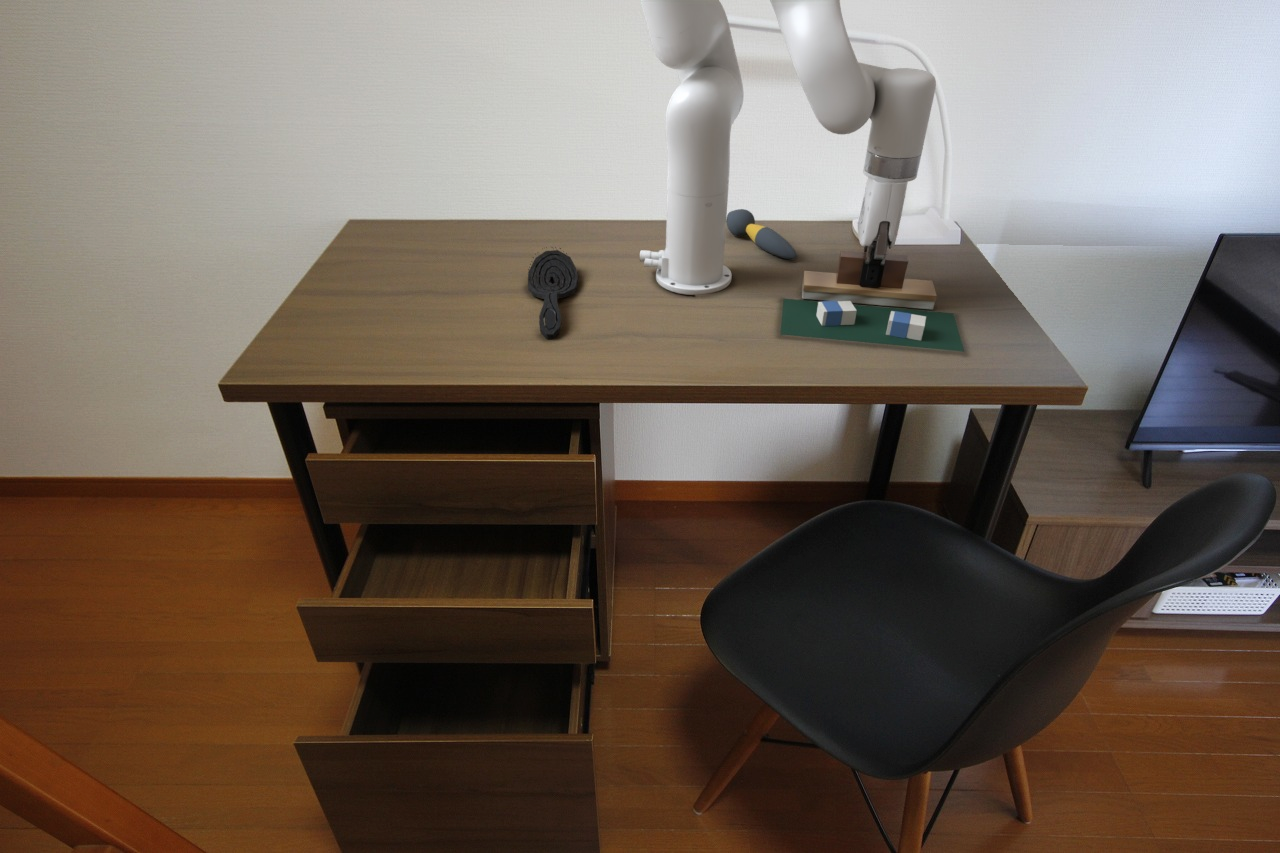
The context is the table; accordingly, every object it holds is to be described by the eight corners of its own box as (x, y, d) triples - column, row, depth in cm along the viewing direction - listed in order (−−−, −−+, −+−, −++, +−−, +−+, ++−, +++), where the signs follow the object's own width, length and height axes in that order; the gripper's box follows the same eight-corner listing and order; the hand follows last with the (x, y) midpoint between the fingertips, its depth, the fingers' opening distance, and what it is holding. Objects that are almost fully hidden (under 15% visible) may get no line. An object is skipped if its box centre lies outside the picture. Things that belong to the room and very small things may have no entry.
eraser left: (821, 326, 117) (824, 311, 115) (815, 316, 119) (818, 301, 118) (854, 325, 117) (857, 310, 115) (847, 315, 119) (850, 300, 118)
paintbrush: (810, 258, 137) (813, 231, 134) (790, 266, 135) (793, 238, 132) (732, 225, 150) (734, 199, 147) (713, 231, 148) (714, 205, 145)
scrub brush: (801, 299, 123) (807, 257, 119) (802, 284, 127) (807, 244, 123) (933, 310, 120) (943, 268, 116) (929, 295, 125) (939, 253, 121)
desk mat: (779, 337, 115) (779, 334, 114) (782, 300, 124) (783, 298, 124) (964, 354, 111) (964, 351, 111) (952, 315, 120) (953, 313, 120)
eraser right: (885, 335, 114) (888, 320, 113) (888, 325, 117) (891, 310, 115) (921, 341, 113) (924, 326, 112) (922, 331, 115) (926, 315, 114)
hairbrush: (520, 323, 112) (527, 245, 131) (522, 344, 114) (529, 265, 134) (577, 321, 112) (577, 244, 132) (578, 343, 115) (578, 264, 134)
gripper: (861, 146, 119) (842, 259, 129) (867, 180, 106) (846, 303, 116) (912, 149, 117) (889, 263, 128) (925, 184, 105) (897, 307, 115)
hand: (868, 281), depth 122 cm, fingers closed on scrub brush, 2 cm apart
